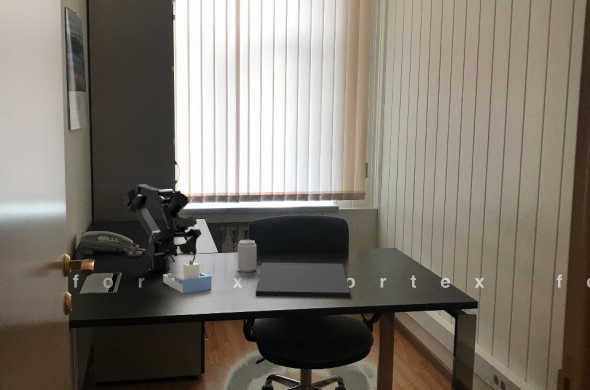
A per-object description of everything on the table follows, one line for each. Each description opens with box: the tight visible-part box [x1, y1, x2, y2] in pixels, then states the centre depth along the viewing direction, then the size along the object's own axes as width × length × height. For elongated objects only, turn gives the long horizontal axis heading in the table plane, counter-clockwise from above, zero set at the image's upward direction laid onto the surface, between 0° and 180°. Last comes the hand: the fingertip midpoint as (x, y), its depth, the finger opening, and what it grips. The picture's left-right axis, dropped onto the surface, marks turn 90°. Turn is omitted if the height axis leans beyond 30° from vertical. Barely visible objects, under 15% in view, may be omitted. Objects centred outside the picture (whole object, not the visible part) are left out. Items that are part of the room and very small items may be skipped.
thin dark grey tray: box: [255, 262, 351, 299], centre depth 239 cm, size 40×2×33 cm
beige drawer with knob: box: [183, 259, 200, 279], centre depth 227 cm, size 4×4×10 cm
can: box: [237, 239, 257, 273], centre depth 253 cm, size 8×8×12 cm
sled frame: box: [162, 272, 213, 295], centre depth 230 cm, size 18×11×5 cm, turn 35°
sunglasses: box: [169, 242, 197, 263], centre depth 274 cm, size 14×16×5 cm
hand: (185, 255), depth 235 cm, fingers open, 9 cm apart
